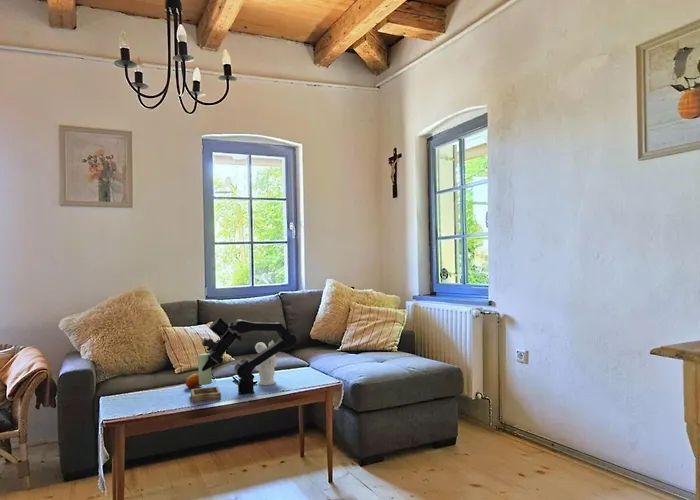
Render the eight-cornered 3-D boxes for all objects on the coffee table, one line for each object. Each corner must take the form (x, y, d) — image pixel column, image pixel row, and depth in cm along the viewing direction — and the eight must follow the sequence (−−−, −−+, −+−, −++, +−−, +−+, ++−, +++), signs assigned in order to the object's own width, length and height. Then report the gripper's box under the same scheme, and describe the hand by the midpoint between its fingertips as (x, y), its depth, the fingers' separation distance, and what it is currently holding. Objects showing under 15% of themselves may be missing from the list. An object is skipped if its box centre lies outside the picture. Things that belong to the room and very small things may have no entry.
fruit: (201, 387, 246) (193, 372, 247) (188, 395, 247) (180, 380, 248) (209, 382, 254) (201, 368, 254) (197, 390, 255) (189, 376, 256)
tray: (217, 392, 241) (217, 386, 241) (220, 399, 229) (220, 392, 229) (191, 395, 236) (190, 389, 236) (192, 403, 225) (192, 396, 225)
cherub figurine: (253, 383, 256) (251, 339, 256) (272, 378, 266) (270, 335, 266) (269, 386, 248) (267, 341, 248) (288, 381, 258) (286, 337, 258)
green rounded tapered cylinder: (211, 380, 237) (210, 352, 236) (212, 383, 231) (211, 355, 231) (198, 382, 235) (197, 354, 235) (199, 385, 229) (198, 356, 229)
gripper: (210, 328, 243) (186, 354, 239) (214, 334, 225) (189, 362, 222) (227, 343, 246) (205, 369, 242) (233, 350, 228) (208, 378, 225)
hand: (201, 369), depth 232 cm, fingers closed on green rounded tapered cylinder, 6 cm apart
